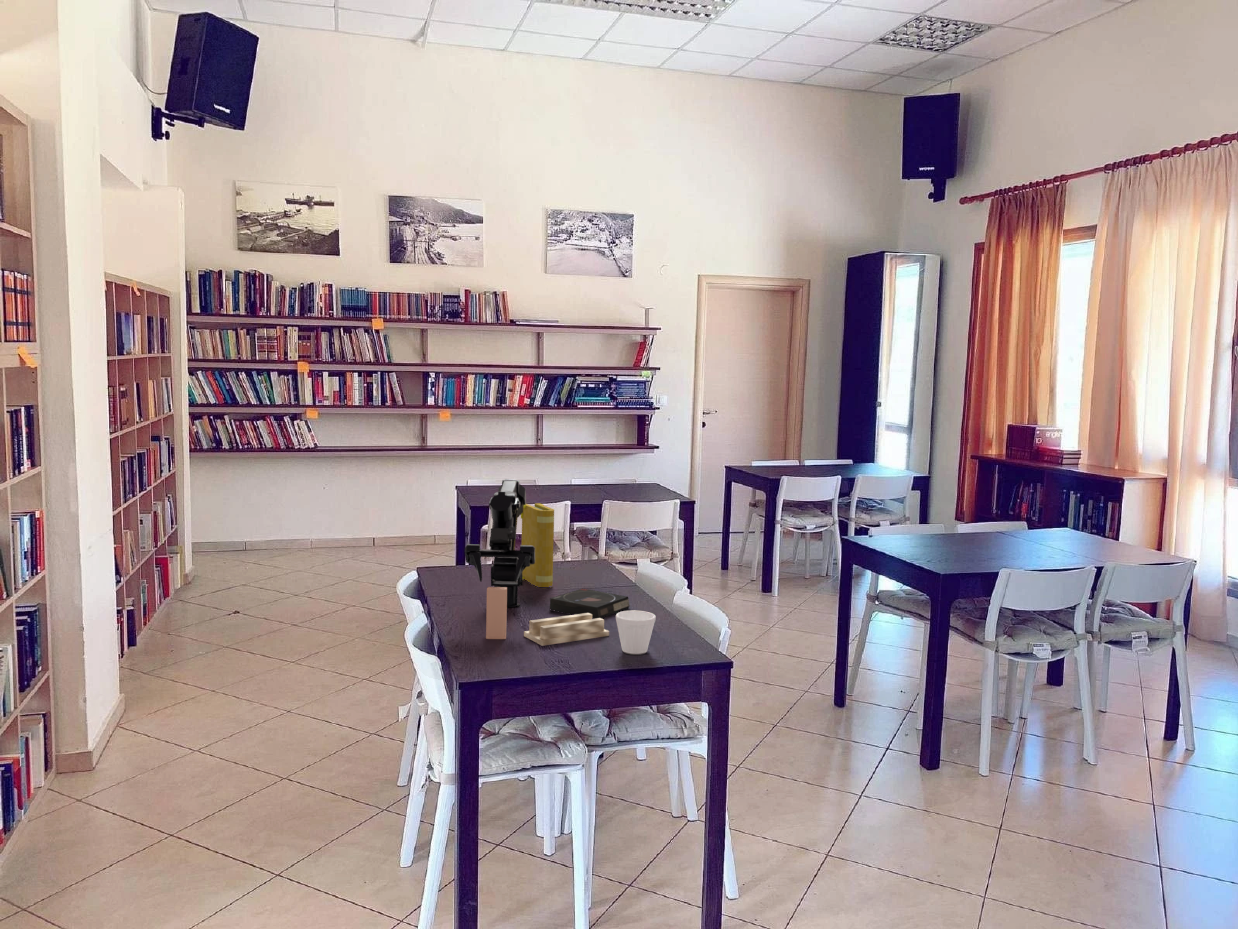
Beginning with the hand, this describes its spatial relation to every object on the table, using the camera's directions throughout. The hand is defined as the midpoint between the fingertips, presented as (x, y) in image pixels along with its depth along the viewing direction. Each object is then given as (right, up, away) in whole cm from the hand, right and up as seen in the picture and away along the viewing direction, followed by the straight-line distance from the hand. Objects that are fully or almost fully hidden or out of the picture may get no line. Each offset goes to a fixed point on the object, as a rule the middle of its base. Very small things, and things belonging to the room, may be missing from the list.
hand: (498, 581), depth 247 cm
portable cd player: (+24, -12, +26) cm, 37 cm away
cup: (+36, -16, -15) cm, 42 cm away
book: (+5, -8, +59) cm, 60 cm away
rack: (+18, -14, -3) cm, 23 cm away
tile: (0, -14, -6) cm, 15 cm away
